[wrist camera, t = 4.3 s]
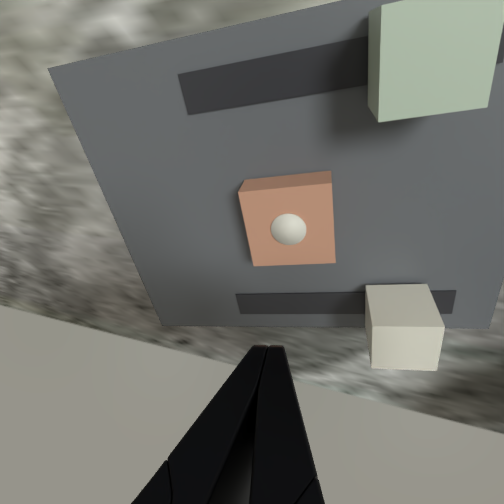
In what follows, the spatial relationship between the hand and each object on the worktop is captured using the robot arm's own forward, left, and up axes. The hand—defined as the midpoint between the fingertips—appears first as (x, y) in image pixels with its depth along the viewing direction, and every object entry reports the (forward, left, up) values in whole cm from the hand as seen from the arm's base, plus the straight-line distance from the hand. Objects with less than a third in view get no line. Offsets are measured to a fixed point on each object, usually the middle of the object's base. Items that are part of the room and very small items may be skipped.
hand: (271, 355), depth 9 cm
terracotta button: (0, 0, -9) cm, 9 cm away
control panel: (0, 0, -11) cm, 11 cm away
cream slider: (-5, +6, -9) cm, 12 cm away
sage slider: (-5, -6, -9) cm, 11 cm away
